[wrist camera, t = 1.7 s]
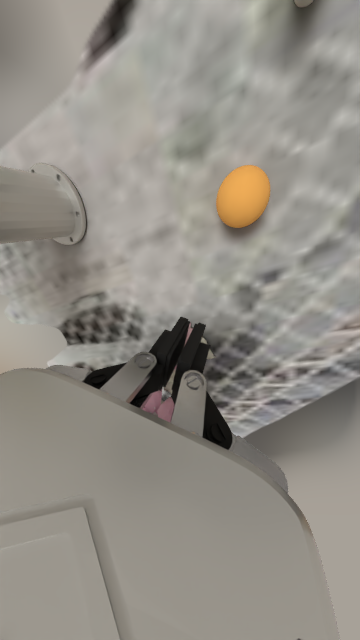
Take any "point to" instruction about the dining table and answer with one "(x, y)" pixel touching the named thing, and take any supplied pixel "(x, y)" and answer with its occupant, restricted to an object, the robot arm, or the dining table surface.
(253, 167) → the ball
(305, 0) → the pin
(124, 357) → the dining table surface
